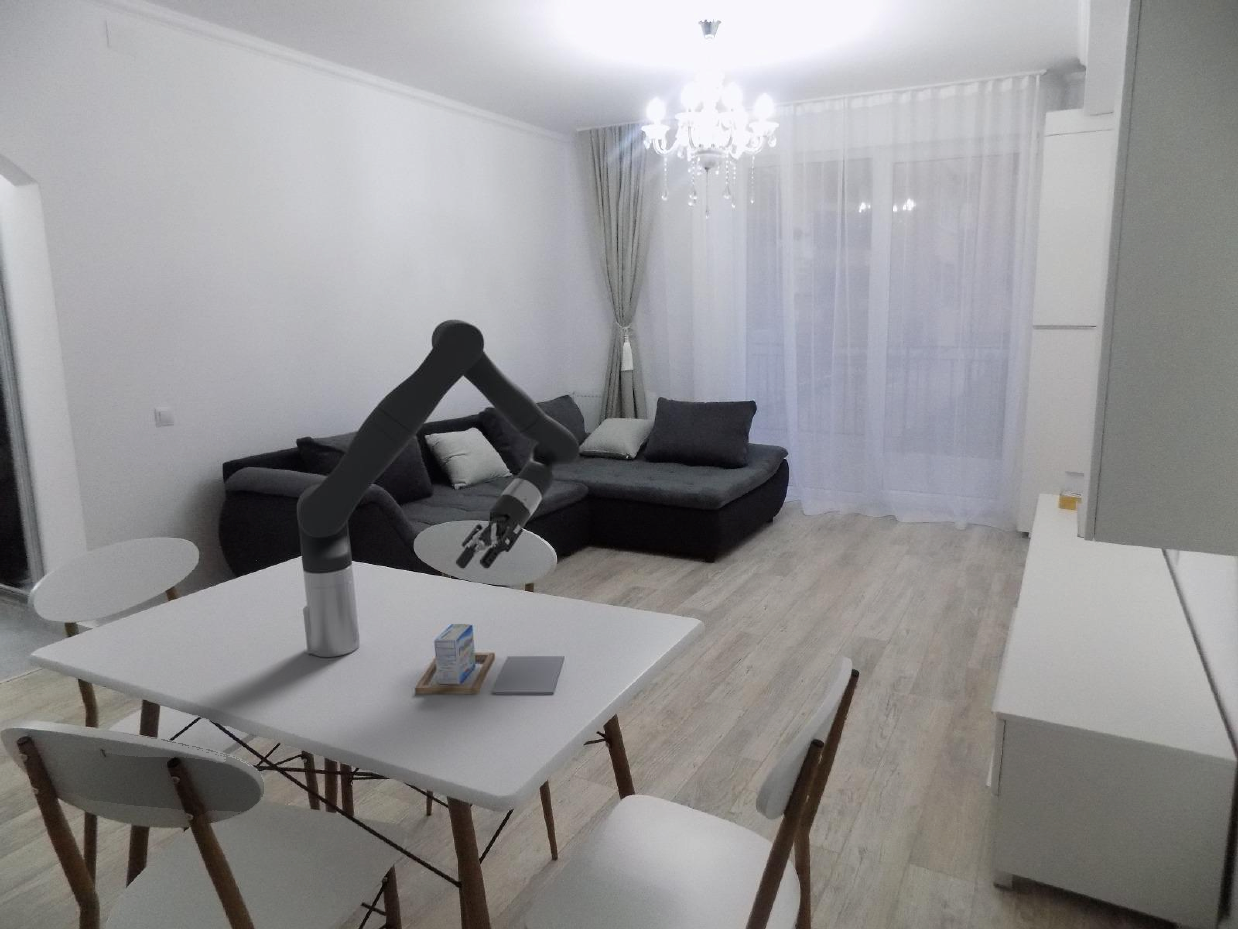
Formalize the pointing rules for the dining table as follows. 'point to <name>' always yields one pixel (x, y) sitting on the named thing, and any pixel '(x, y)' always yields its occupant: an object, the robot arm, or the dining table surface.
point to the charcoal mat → (529, 675)
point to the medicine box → (455, 654)
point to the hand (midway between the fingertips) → (471, 566)
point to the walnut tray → (455, 689)
